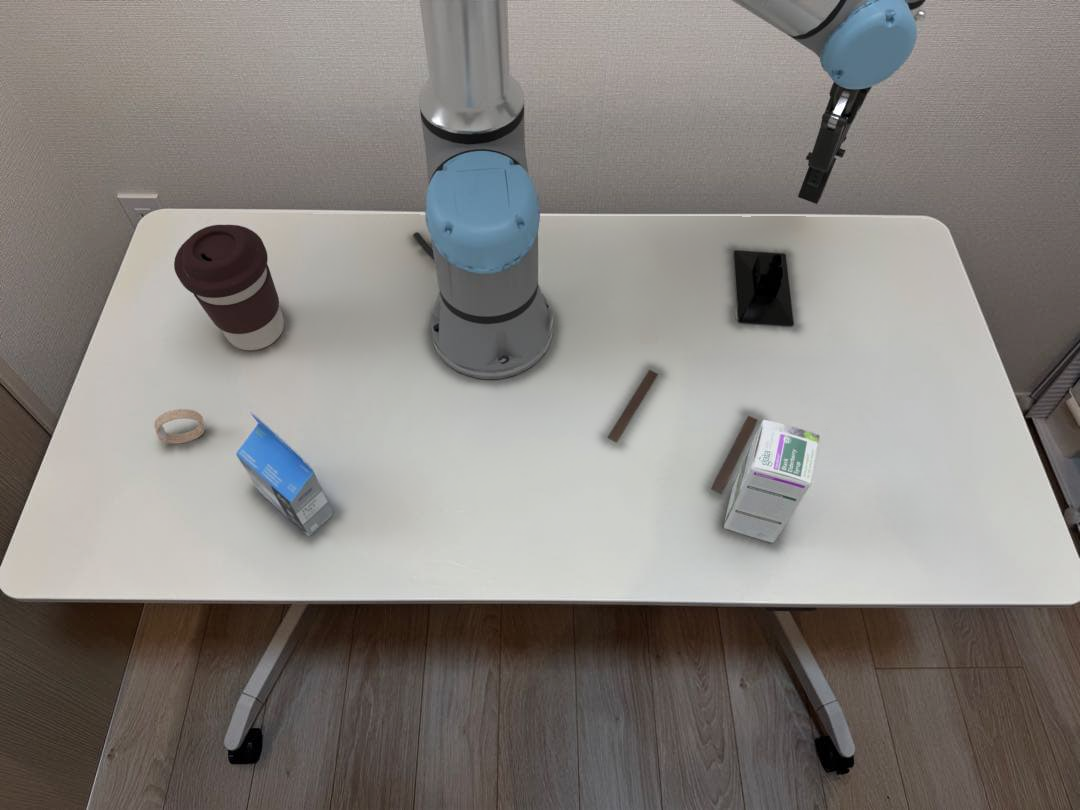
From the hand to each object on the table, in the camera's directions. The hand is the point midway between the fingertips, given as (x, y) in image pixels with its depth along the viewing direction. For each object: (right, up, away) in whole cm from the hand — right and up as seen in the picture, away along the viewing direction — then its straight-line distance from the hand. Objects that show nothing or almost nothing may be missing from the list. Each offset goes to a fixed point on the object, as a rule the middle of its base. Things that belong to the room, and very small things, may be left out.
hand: (809, 197), depth 102 cm
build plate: (-7, -13, -1) cm, 14 cm away
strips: (-19, -31, -13) cm, 38 cm away
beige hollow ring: (-77, -32, -13) cm, 84 cm away
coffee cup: (-72, -18, -5) cm, 75 cm away
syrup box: (-13, -40, -18) cm, 46 cm away
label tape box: (-63, -39, -18) cm, 76 cm away
